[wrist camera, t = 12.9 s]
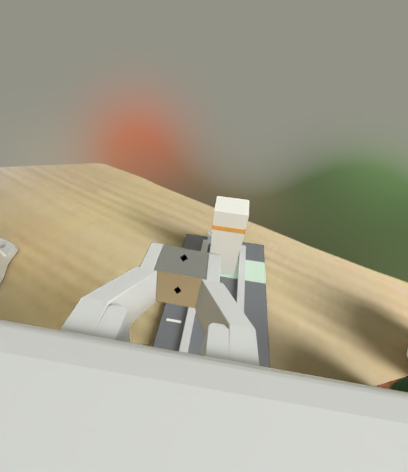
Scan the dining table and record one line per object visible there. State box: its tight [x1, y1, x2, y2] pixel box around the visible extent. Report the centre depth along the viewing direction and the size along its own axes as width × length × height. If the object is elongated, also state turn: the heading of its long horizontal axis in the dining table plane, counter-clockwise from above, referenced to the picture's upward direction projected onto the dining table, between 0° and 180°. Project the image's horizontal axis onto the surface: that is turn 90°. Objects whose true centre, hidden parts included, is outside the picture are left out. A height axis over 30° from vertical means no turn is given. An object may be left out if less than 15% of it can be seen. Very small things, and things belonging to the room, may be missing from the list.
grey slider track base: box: [153, 232, 270, 368], centre depth 31 cm, size 14×24×3 cm, turn 171°
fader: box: [210, 196, 249, 275], centre depth 30 cm, size 4×3×12 cm
